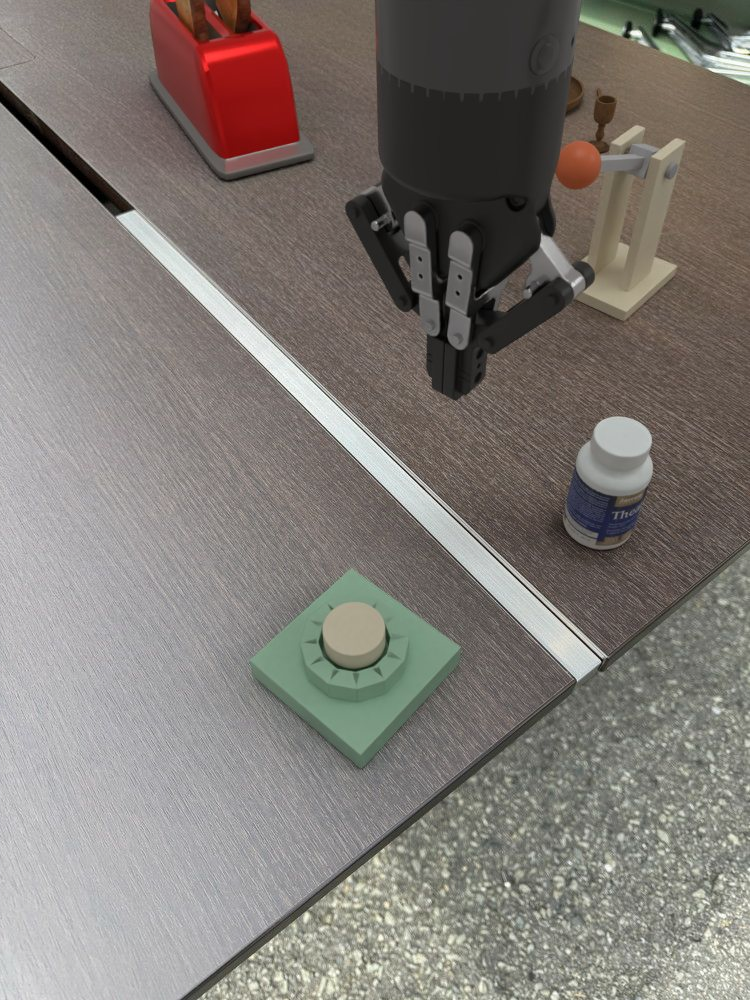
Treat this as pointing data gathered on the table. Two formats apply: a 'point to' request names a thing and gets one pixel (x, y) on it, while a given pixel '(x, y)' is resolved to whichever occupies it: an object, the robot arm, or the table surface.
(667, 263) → the bracket
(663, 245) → the table surface
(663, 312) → the table surface
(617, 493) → the pill bottle
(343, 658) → the button
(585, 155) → the lever
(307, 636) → the button block
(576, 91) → the place setting
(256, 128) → the toaster
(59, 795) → the table surface
